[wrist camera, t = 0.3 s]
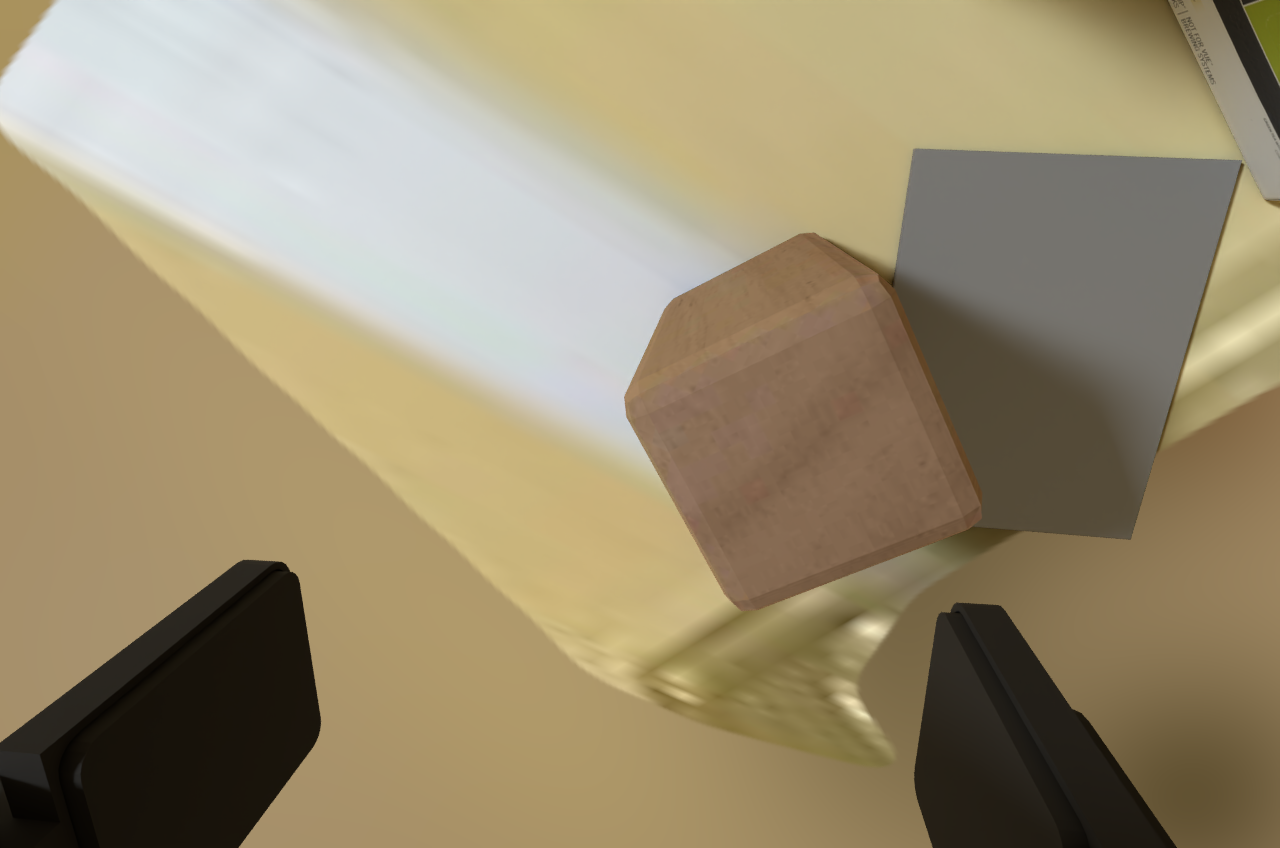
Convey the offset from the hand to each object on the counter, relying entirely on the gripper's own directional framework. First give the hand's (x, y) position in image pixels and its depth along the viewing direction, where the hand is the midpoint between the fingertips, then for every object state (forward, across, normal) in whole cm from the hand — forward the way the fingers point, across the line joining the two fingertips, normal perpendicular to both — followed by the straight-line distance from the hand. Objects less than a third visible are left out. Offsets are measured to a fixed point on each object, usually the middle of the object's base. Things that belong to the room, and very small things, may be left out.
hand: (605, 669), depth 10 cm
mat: (+35, -20, +2) cm, 40 cm away
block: (+35, -5, +2) cm, 35 cm away
